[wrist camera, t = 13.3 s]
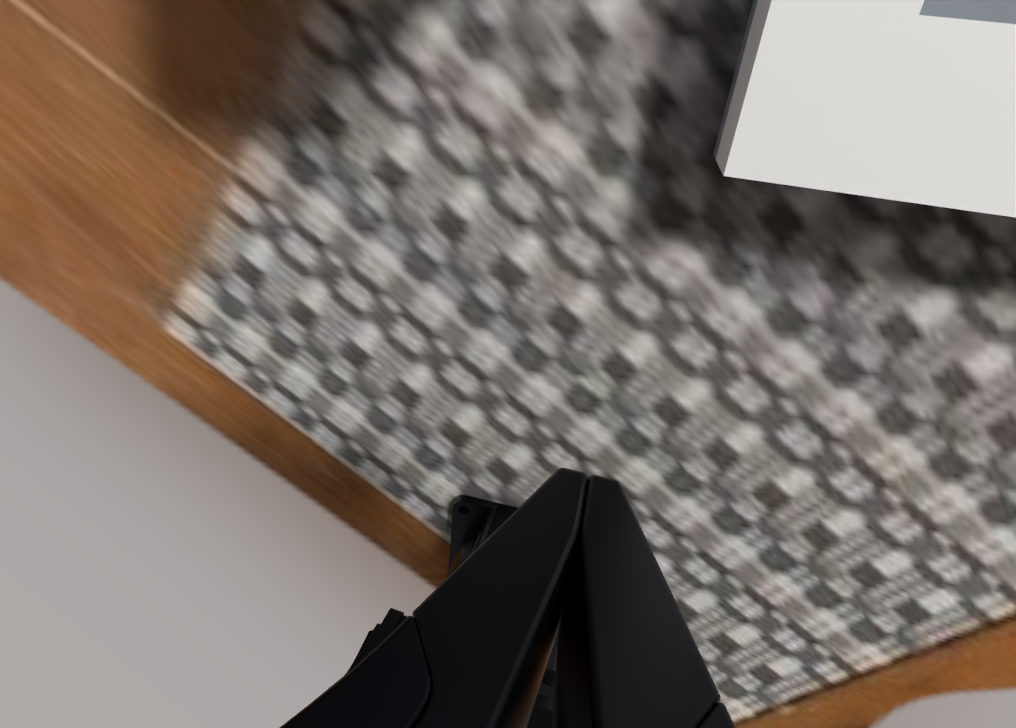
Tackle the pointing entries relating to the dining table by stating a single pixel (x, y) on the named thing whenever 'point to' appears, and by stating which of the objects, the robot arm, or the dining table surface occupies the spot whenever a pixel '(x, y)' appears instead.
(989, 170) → the square hole tray
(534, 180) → the dining table surface
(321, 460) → the dining table surface
